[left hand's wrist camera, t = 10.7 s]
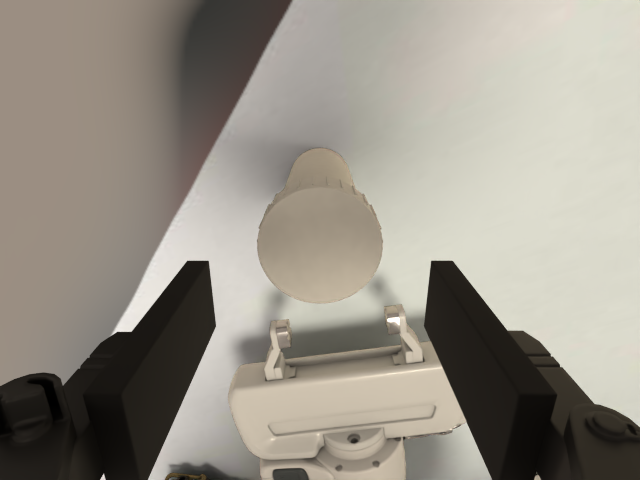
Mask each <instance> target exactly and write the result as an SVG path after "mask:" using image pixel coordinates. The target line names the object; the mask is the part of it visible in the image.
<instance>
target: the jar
mask: <svg viewBox="0 0 640 480" xmlns="http://www.w3.org/2000/svg"><path fill="white" fill-rule="evenodd" d="M312 176H314V177H326V176H328V177H329V178H334V179H338V180H340V179H342V181H343V182H345V183H347V184H349V185H351V186H352V185H353V186H354V187H355V185H354V183H353V180H352V177H351V175H350V172H349V169H348V166H347V164H346V162H345V161H344V160H343V158H342V157H341V156H340V155H339V154H337V153H336V152H334V151H332V150H329V149H325V148H315V149H311V150H308V151H306V152H304V153H303V154H301V155H300V156H299V157H298V158H297V159H296V161H295V162H294V164H293V166H292V169H291V172H290V175H289V177H288V180H287V183H286V185H285V188H286V186H287V185H288V186H289V185H291V184H293V183H295V182H297V181H298V180H299V179H301V180H302V179H306V178H311V177H312ZM285 188H284V189H285ZM355 189H356V188H355Z"/></svg>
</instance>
